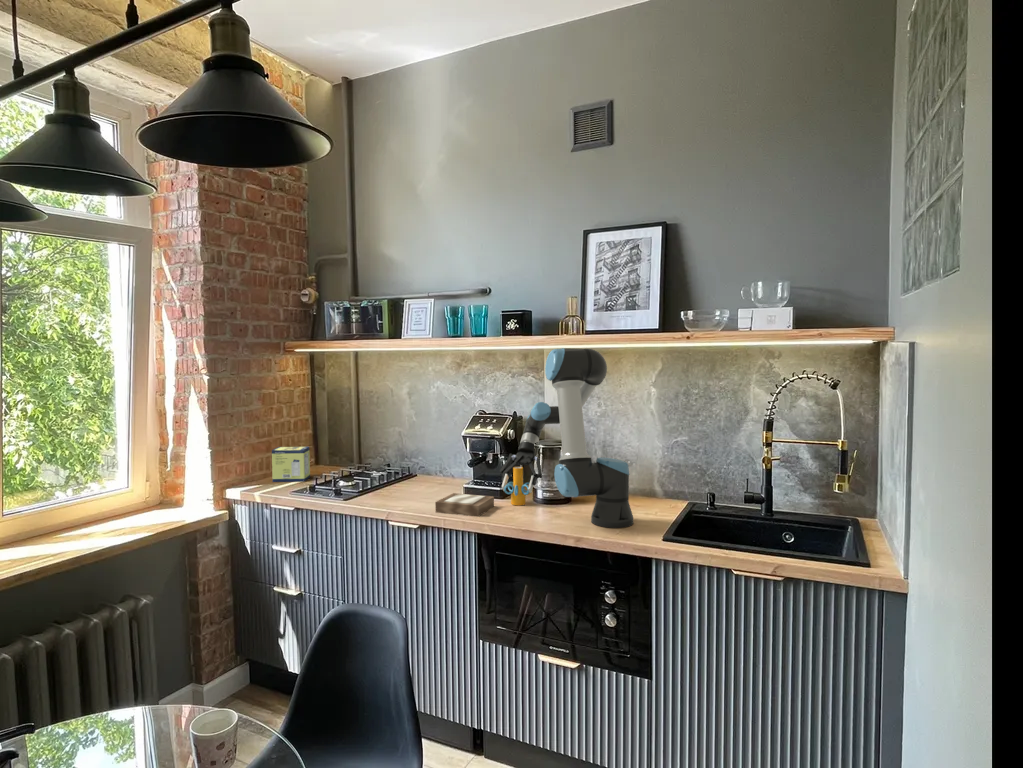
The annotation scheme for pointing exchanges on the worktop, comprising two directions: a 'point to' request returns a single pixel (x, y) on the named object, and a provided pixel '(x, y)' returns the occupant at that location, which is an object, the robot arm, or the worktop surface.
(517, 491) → the cylinder
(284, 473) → the protein box
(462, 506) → the pedestal
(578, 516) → the worktop surface
